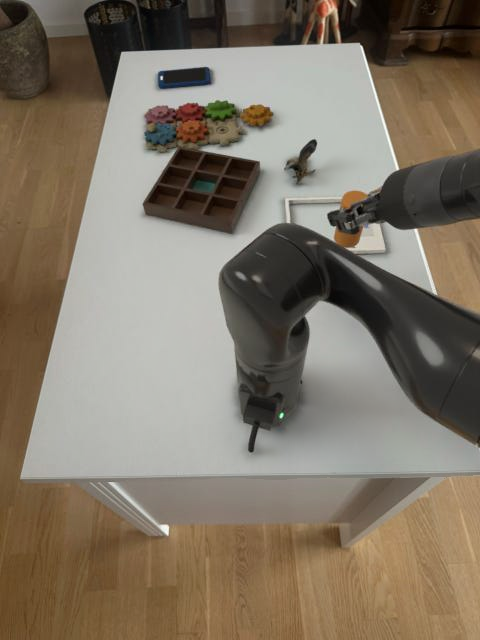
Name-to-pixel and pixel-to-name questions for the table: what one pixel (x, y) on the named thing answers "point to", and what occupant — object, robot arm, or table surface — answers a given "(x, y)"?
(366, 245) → the photo frame
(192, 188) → the grid
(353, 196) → the orange cylinder
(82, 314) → the table surface
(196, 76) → the cell phone
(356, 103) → the table surface
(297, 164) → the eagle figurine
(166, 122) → the gear puzzle
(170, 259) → the table surface
